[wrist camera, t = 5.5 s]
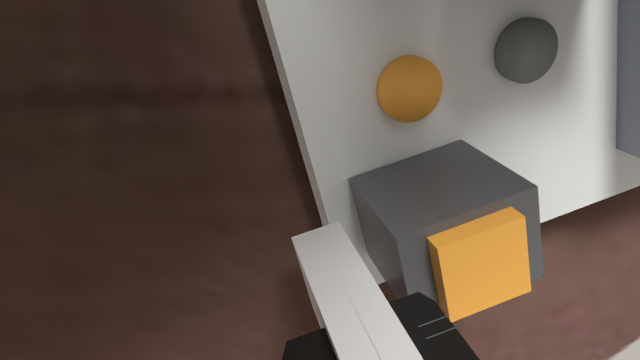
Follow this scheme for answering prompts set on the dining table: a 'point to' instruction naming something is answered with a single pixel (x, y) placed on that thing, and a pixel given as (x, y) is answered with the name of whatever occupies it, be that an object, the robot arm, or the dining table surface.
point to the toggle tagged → (451, 228)
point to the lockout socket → (628, 77)
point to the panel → (452, 92)
